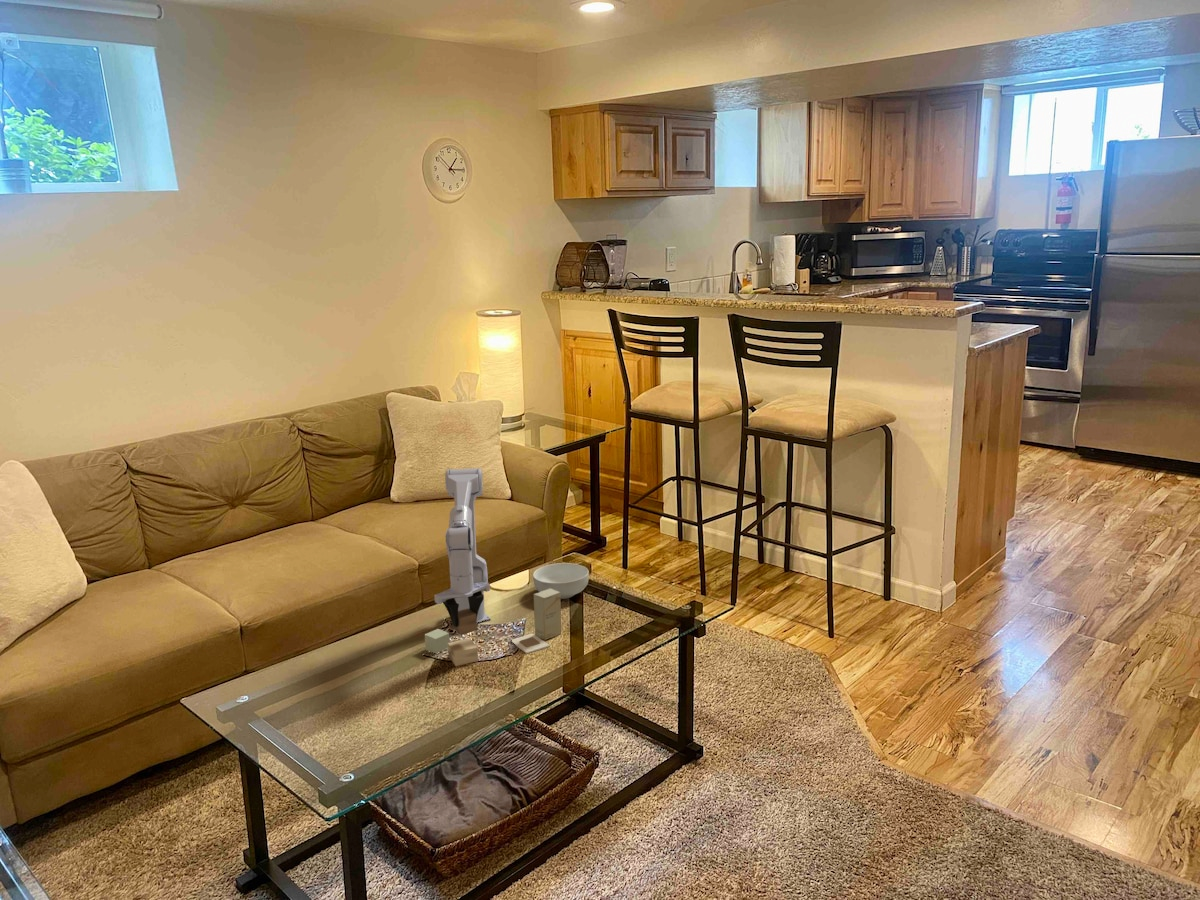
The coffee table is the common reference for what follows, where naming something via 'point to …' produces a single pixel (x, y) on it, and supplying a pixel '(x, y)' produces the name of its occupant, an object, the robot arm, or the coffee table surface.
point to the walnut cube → (466, 621)
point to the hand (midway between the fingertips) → (464, 623)
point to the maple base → (463, 652)
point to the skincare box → (547, 613)
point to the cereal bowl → (561, 578)
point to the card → (530, 643)
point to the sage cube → (436, 640)
